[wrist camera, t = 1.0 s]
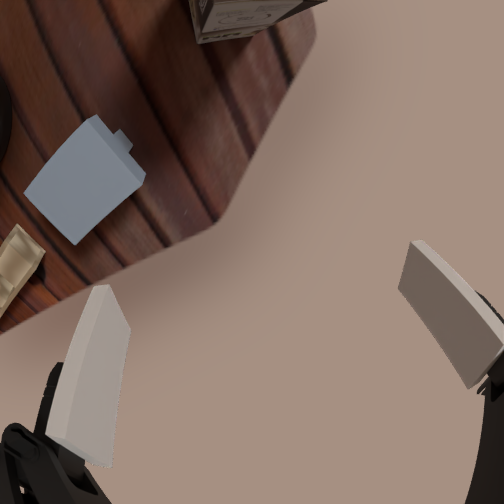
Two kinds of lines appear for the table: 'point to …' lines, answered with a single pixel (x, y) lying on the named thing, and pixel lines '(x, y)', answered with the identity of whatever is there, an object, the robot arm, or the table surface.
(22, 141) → the table surface
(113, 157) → the grey plastic block
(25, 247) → the rail
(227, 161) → the table surface
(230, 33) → the coffee box
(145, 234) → the table surface
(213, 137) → the table surface
